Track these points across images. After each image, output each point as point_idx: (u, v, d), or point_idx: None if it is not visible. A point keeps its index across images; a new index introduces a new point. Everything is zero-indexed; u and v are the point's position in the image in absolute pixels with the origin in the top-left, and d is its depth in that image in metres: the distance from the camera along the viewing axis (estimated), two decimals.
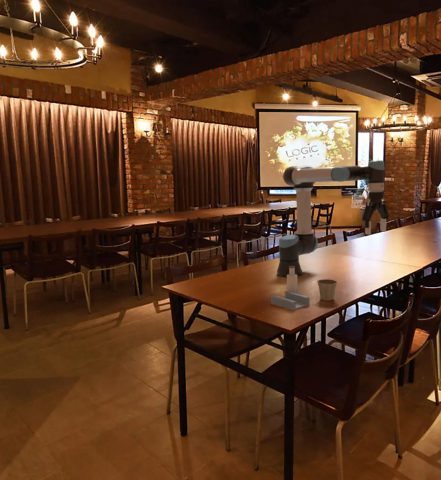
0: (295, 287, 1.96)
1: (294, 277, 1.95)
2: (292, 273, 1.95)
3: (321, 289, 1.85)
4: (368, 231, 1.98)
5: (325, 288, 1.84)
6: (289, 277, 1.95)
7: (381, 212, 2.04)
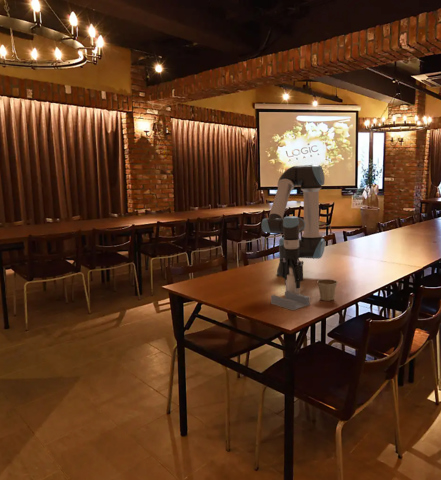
0: None
1: (294, 277, 1.95)
2: (292, 273, 1.95)
3: (321, 289, 1.85)
4: None
5: (325, 288, 1.84)
6: (289, 277, 1.95)
7: None
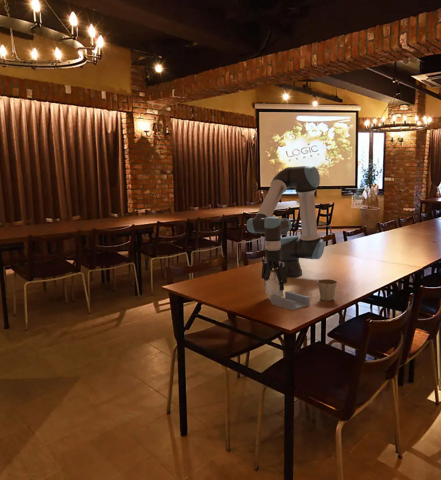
0: (277, 292, 1.89)
1: (276, 281, 1.88)
2: (274, 277, 1.89)
3: (321, 289, 1.85)
4: None
5: (325, 288, 1.84)
6: (271, 281, 1.89)
7: None
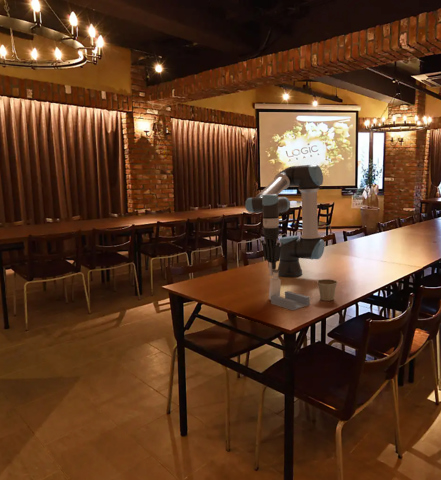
0: (277, 292, 1.89)
1: (277, 282, 1.87)
2: (275, 277, 1.88)
3: (321, 289, 1.85)
4: None
5: (325, 288, 1.84)
6: (272, 281, 1.88)
7: None
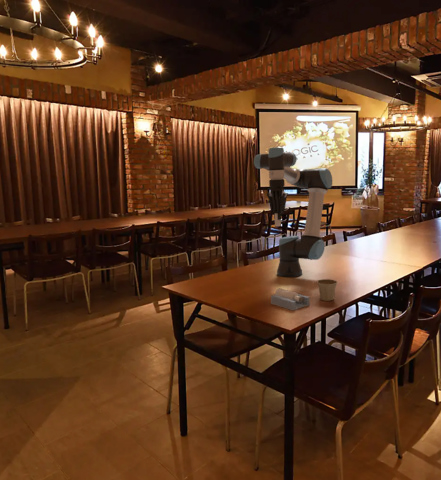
0: None
1: None
2: (294, 300, 1.81)
3: (321, 289, 1.85)
4: None
5: (325, 288, 1.84)
6: (289, 298, 1.81)
7: None
